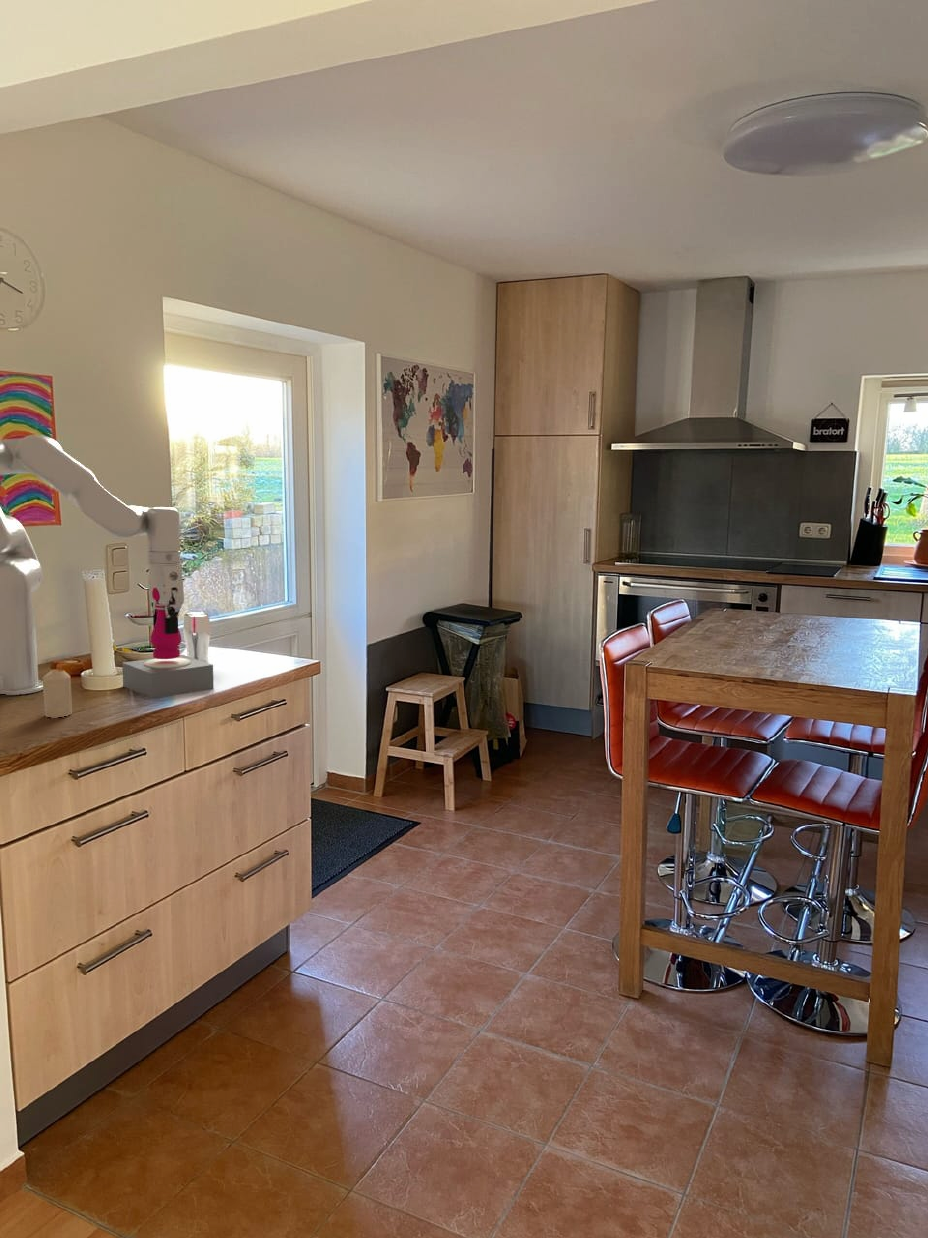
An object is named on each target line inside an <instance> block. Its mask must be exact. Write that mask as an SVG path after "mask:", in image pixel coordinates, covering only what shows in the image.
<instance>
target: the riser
mask: <svg viewBox="0 0 928 1238" xmlns="http://www.w3.org/2000/svg"><path fill="white" fill-rule="evenodd" d="M121 664H122V665H121V666H122V686H123V687H125V688H127V689H129V690H131V691H134V692H136V693H138V694H141V695H143V696H145V697H148V698H150V699H157V698H164V697H169V696H170V697H171V696H176V695H180V694H181V695H182V694H189V693H194V692H199V691H200V692H201V691H206V690H212V689H214V685H215V684H214V665H213V664H212V663H209V662H208V663H206V662H203V661H200V660H197V659H194V658H191V657H188V656H187V655H185V654H180V656H179V657H178V658H174V659H156V658H154V657H152V658H146V659H140V660H139V659H138V660H132V661H123V662H121Z"/></svg>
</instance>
